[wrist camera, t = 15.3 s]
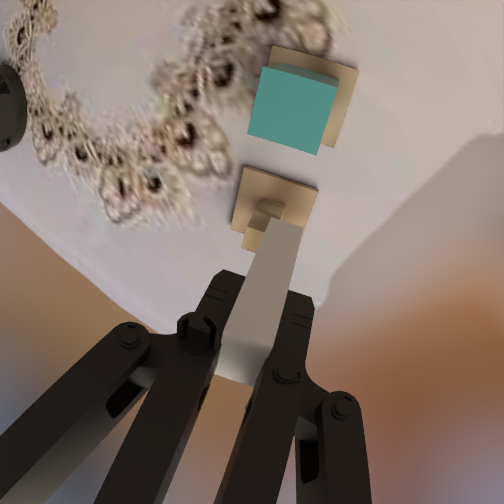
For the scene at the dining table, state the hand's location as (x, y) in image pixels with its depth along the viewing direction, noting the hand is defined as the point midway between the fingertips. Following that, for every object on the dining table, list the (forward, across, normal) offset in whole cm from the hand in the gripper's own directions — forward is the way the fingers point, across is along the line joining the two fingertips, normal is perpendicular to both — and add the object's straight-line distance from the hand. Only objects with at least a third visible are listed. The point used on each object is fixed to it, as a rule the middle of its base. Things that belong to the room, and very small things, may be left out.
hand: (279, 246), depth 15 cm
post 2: (+18, -2, -9) cm, 21 cm away
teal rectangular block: (+18, -2, +4) cm, 18 cm away
